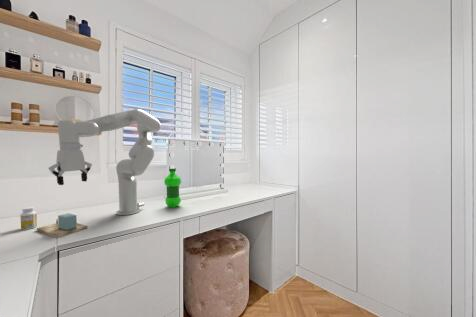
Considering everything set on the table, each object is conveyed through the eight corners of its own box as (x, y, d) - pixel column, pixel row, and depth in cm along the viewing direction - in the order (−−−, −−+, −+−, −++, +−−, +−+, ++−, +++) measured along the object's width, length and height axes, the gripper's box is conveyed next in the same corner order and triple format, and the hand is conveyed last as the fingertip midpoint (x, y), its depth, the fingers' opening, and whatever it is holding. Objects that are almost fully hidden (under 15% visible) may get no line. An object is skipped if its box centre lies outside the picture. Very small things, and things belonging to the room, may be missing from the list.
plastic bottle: (161, 208, 134) (160, 169, 133) (170, 204, 144) (170, 167, 143) (175, 208, 131) (175, 169, 131) (184, 204, 141) (183, 167, 141)
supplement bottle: (29, 226, 103) (28, 206, 102) (40, 226, 102) (39, 206, 102) (17, 230, 97) (16, 209, 97) (28, 230, 97) (28, 209, 97)
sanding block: (58, 228, 95) (58, 215, 95) (69, 225, 98) (68, 213, 98) (66, 231, 91) (65, 217, 91) (76, 228, 95) (76, 215, 95)
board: (67, 222, 106) (67, 220, 106) (87, 228, 98) (87, 225, 98) (36, 230, 96) (36, 228, 96) (55, 237, 87) (55, 234, 87)
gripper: (85, 146, 108) (88, 179, 109) (42, 147, 93) (46, 186, 94) (94, 146, 105) (96, 180, 106) (51, 147, 89) (55, 186, 90)
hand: (73, 182), depth 100 cm, fingers open, 9 cm apart
